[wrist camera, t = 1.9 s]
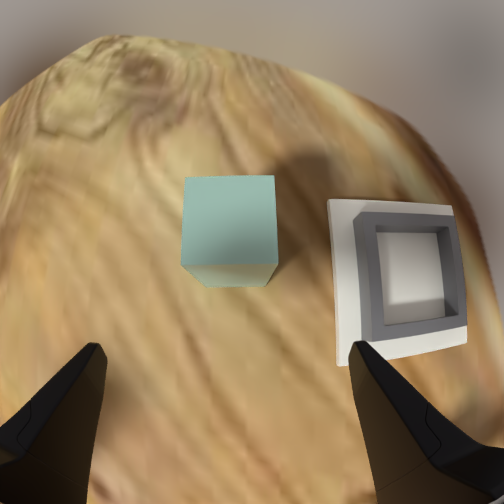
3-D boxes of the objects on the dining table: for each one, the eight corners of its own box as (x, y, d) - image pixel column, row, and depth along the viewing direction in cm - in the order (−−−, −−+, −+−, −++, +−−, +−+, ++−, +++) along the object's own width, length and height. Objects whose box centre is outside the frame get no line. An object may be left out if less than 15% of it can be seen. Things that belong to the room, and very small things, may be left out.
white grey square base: (461, 342, 21) (480, 342, 18) (336, 365, 21) (348, 370, 18) (446, 208, 24) (463, 197, 21) (326, 202, 24) (335, 188, 21)
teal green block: (265, 286, 22) (278, 263, 13) (206, 287, 22) (180, 265, 13) (263, 229, 23) (274, 175, 14) (206, 230, 23) (185, 177, 14)
